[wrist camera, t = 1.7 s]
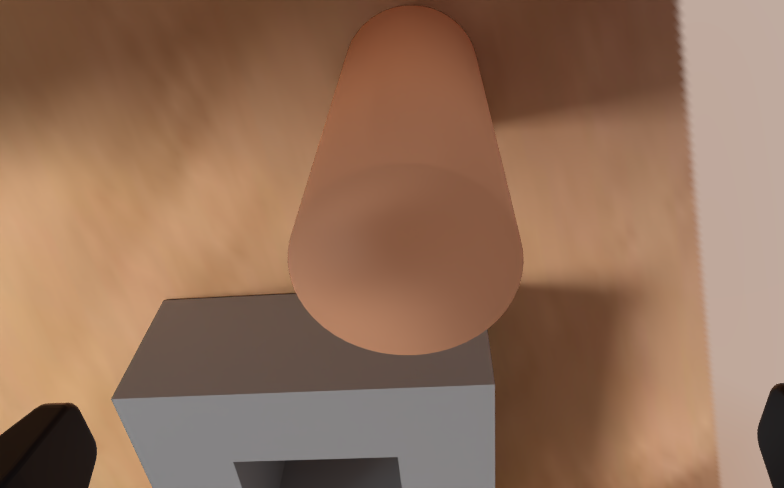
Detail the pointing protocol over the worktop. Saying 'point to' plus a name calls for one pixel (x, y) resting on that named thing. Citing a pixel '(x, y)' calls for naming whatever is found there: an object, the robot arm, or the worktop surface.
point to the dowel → (407, 195)
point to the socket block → (301, 403)
